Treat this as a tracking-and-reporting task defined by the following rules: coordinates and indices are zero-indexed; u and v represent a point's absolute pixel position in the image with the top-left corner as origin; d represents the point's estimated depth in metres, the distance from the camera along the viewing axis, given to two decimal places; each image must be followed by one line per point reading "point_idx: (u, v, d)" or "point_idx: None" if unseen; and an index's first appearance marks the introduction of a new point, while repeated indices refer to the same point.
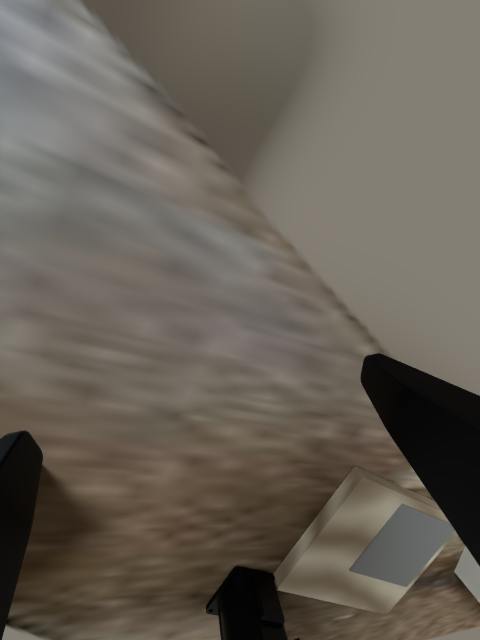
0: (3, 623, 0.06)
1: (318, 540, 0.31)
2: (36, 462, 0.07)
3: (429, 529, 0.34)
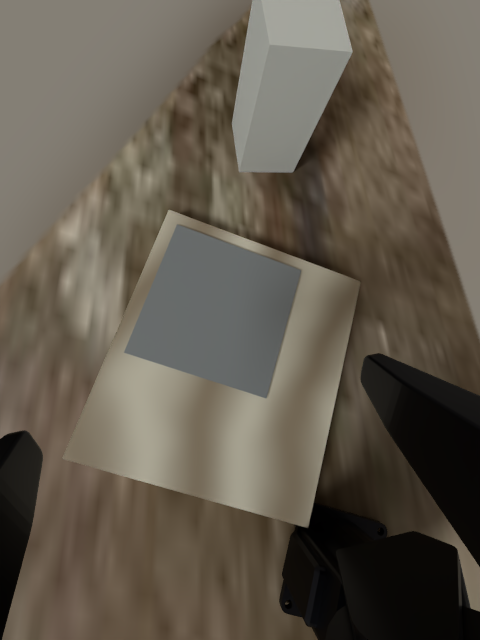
0: (3, 623, 0.06)
1: (201, 489, 0.18)
2: (36, 462, 0.07)
3: (179, 276, 0.21)
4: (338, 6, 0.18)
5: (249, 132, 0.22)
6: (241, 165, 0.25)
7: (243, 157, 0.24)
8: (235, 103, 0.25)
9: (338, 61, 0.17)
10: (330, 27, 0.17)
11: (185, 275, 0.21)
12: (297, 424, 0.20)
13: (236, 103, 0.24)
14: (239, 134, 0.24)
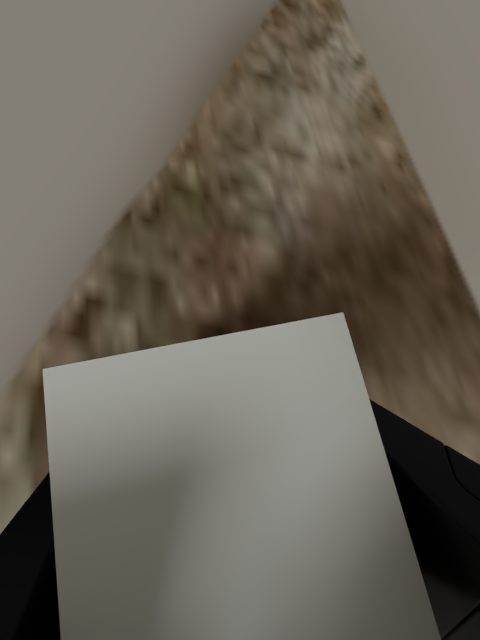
0: None
1: None
2: None
3: None
4: (361, 405, 0.05)
5: None
6: None
7: None
8: None
9: None
10: (342, 535, 0.04)
11: None
12: None
13: None
14: None
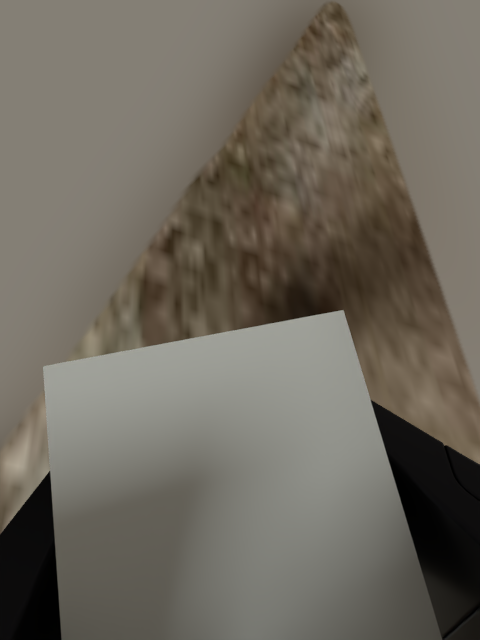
0: None
1: None
2: None
3: None
4: (361, 402, 0.05)
5: None
6: None
7: None
8: None
9: None
10: (342, 532, 0.04)
11: None
12: None
13: None
14: None
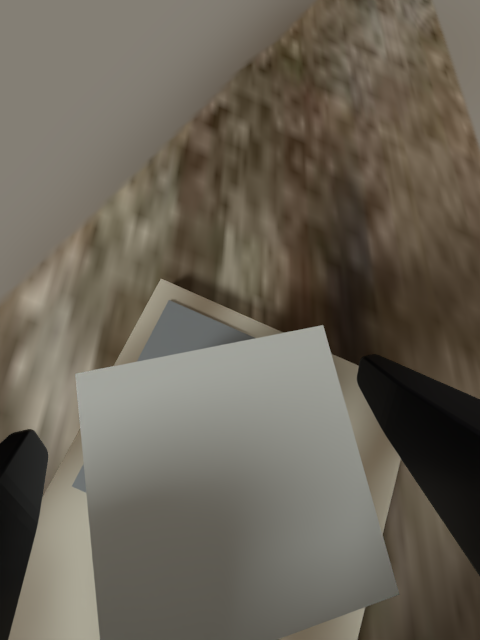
0: (10, 620, 0.06)
1: None
2: (41, 461, 0.07)
3: None
4: (336, 402, 0.06)
5: None
6: None
7: None
8: None
9: None
10: (319, 508, 0.05)
11: None
12: None
13: None
14: None
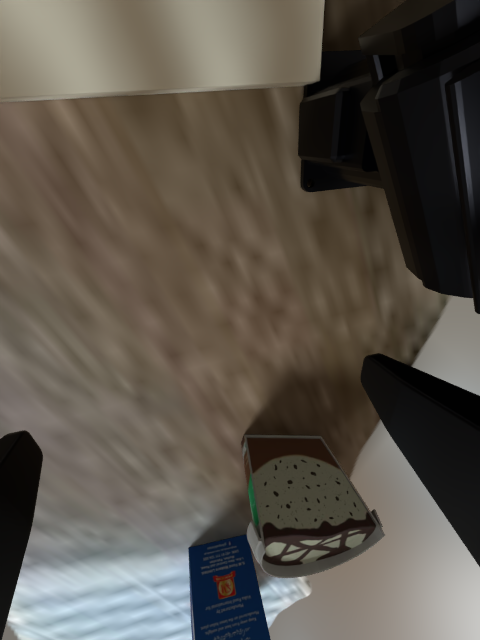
0: (3, 623, 0.06)
1: (165, 75, 0.13)
2: (36, 462, 0.07)
3: None
4: None
5: None
6: None
7: None
8: None
9: None
10: None
11: None
12: None
13: None
14: None
